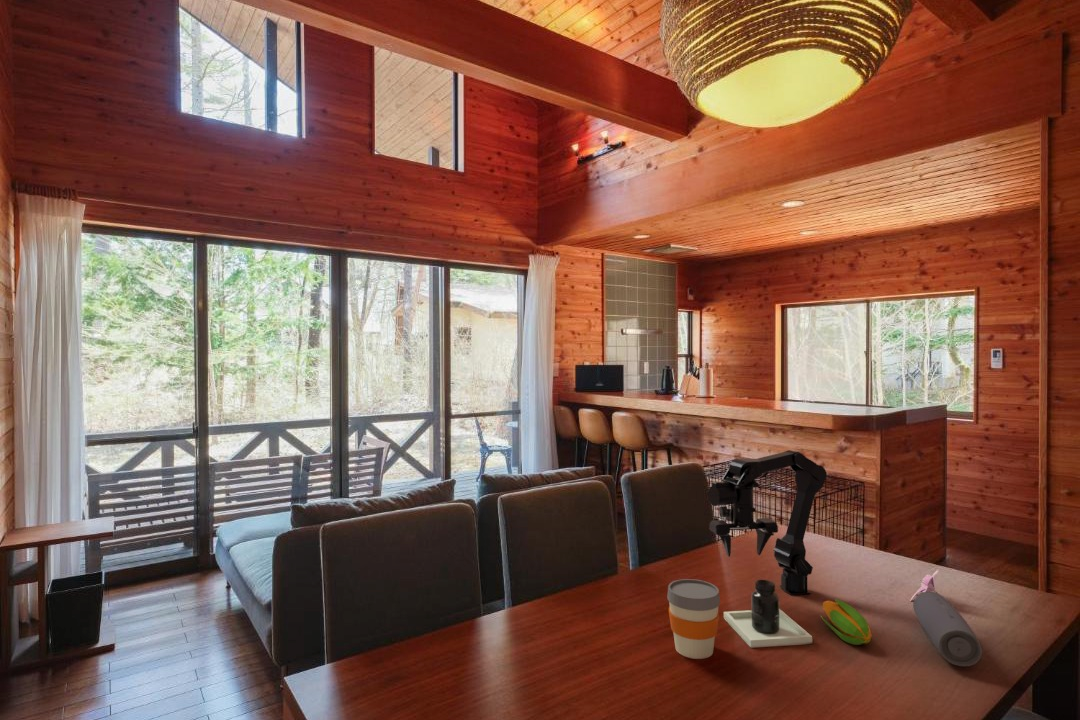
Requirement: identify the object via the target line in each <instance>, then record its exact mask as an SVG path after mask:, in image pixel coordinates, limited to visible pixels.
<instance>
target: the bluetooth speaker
mask: <svg viewBox="0 0 1080 720" xmlns="http://www.w3.org/2000/svg"><path fill="white" fill-rule="evenodd" d="M912 606H913V611H914V614H915V616H916V618H917V620H918V623H919V624H920V626H921V628H922V630H923V632H924V634H925V635H926V637H927V638H928V639H929V641H930V642H931V644H932V645H933V647H935V649H936V651H938V653H939V654H940V655H941V656H942V657H943V658H944V659H945V661H947V662H949V663H950V664H952V665H955V666H959V667H971V666H973V665H975V664H977V663H978V662H979V661H980V659H981V658H982V655H983V650H982V646H981V643H980V641H979V638H978V637H977V635H976V634H975V633H974V631H973V629H972V628H971V626H970V625H969V624H968V622H967V621H966V620H965V618H964V617H963V616H962V614H961V613H960V612H959V611H958V610H957V608H955V607H954V606H953V604H952V603H951V602H950V601H949V600H947V598H946V597H944V596H943V595H941V594H940V593H938V592H937V593H936V592H934V591H927V592H919V593H918V595H917V596H915V598H914V600H913V603H912Z"/></svg>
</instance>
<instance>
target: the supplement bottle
mask: <svg viewBox="0 0 1080 720" xmlns="http://www.w3.org/2000/svg"><path fill="white" fill-rule="evenodd" d="M754 583H755V584H754V585H755V586H754V589H755V590H754V591H753V592H752V593H751V596H750V597H751V599H750V600H751V610H752V627H753V628H754V629H755V630H756V631H758V632H761V633H765V634H774V633H777V632H778V631H779V609H780V597H779V595H778V594H777V593H776V584H775V582H774V581H771V580H769V579H757V580H756V581H754Z"/></svg>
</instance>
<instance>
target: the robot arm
mask: <svg viewBox="0 0 1080 720" xmlns="http://www.w3.org/2000/svg"><path fill="white" fill-rule="evenodd" d="M788 467H789V468H790V469H791V470H792V471H793V472H794V473H795V477H794V481H795V483H796V484H795V485H796V488H797V490H796V494H795V498H794V502H793V506H792V510H791V514H790V517H789V521H788V525H787V530H786V532H785V535H783V537H781V538H779V537H778V538H776V540H775V546H774V548H773V552H774V553H773V555H774V559H775V560H776V562H777V565H778V567H780V568H782V574H781V576H780V578H781V580H780V585H779V587H780V588H781V589H782V590H783V591H785V592H786V594H789V595H791V596H795V595H796V596H797V595H798V596H799V595H811V591H810V590H809V589H808V576H809V575H812V573H813V569H814V567H813V566H812V565H811V564H810V563H809V562H808V560H806V552H807V550H806V547H805V542H804V539H805V535H806V530H807V527H808V523H809V518H810V514H811V510H812V508H813V503H814V499H815V495H816V494H817V493H818V492H819V491H821V489H822V488H823V487H824V484H825V482H826V479H827V476H828V475H827V474H828V473H827V471H826V469H825V467H824V466H822V465H820V464H817V463H816V462H814V461H813V460H811V459H810V458H808V457H806V456H805V455H804V454H803V453H802V452H800V451H796V450H792V449H790V450H789V449H788V450H785V451H783V452H780V453H774V454H770V455H767V456H762V457H759V458H744V457H743V458H734V459H731V461H730V463H729V467H728V468H727V470H726V471H725V473H724V474H723V477H722V478H721V481H712V482H711V486H710V487H709V489H708V490H707V498H708V501H709V503H710V504H711V505H712V506H713V507H717V506H719V510H718V513H719V514H718V515H719V517H720V518H725V521H724V520H723V519H720V520H719V519H718V520H710V522H709V530H710V532H712V533H714V534H715V535H717V536H718V537H719V538H720V540H721V542H722V545H723V547H724V550H725V553H726V556H727V557H728V558H729V557H731V551H732V536H731V534H730V533H731V531H742V530H745V531H746V530H755V532H756V554H757V556H761V554H762V552H763V550H764V548H765V546H766V545H767V543H768V541H769V540H770V538H771V537H772V536H774V535H775V534H776V533H778V532H779V526H778V523H777V522H776V521H774V520H773V519H771V518H768V517H765V518H764V517H763V518H756V520H755V519H754V512H755V513H756V507H755V506H754V488H759V487H760V484H759V483H758V482H757V481H756V479H758V478H760V477H761V476H762V475H763V474H765V473H768V472H772V471H776V470H781V469H785V468H788ZM728 505H730V508H728ZM754 520H755V521H754ZM726 521H729V522H730V523H727V522H726Z"/></svg>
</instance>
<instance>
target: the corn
mask: <svg viewBox="0 0 1080 720" xmlns="http://www.w3.org/2000/svg"><path fill="white" fill-rule="evenodd" d="M822 609H823V611H824V613H825V615H826V616H827V618H828V619H829V620H830V622H831V623H829V622H828V621H827V620H826V619H825V618H823V616H822V615H820V614H819V616H820V617H821V619H822V620H823V622H824V623H825V624H826V625H827V626H828V627H829V628H830V630H832V631H833V632H834V633H835V634H836V635H837V636H838V637H839V638H840V639H841V640H843V641H844V642H846V643H847V644H850V645H854V646H855V645H856V646H857V645H858V646H859V645H862V646H863V645H864V646H865V645H867V644H869V643H870V642H871V641H872V637H873V634H872V631H871V629H870V626H869V623H868V622H867V621H868V620H867V619H866V618H865V617H864V616H863V615H862V614H861V613H860V612H859V611H857V610H856V609H855V608H854V607H853V606H851V605H850V604H848V603H846V602H845V601H842V600H839V599H837V598H835V599H834V601H832V600H826V601H823V602H822ZM831 624H833V625H831Z"/></svg>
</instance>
